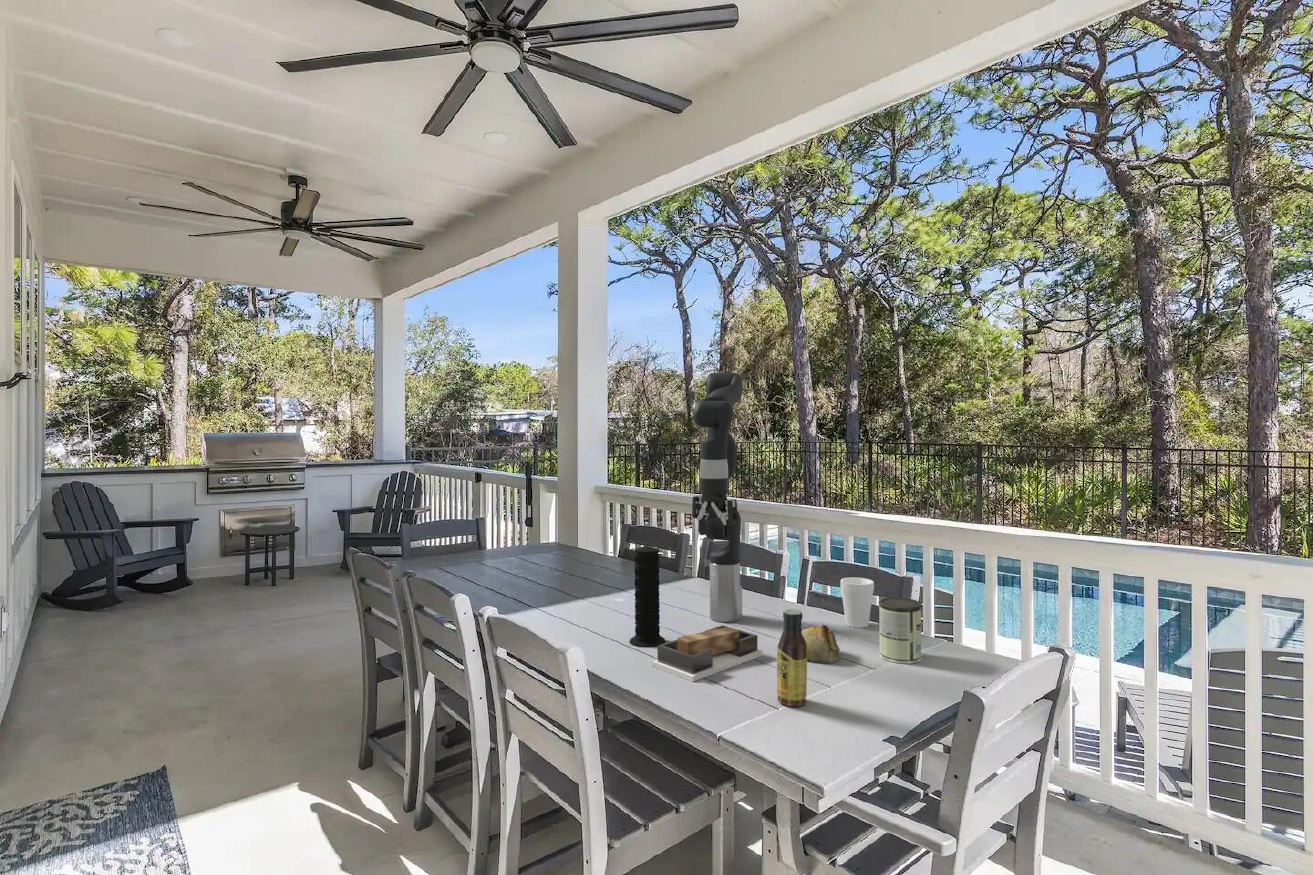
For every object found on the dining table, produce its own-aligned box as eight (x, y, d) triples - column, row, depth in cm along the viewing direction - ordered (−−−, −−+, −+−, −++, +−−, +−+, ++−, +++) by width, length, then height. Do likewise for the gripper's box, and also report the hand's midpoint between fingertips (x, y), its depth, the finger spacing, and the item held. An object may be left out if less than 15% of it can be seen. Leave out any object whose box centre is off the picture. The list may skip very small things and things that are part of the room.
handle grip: (625, 646, 185) (661, 648, 183) (624, 548, 184) (661, 549, 182) (634, 634, 195) (668, 636, 193) (633, 542, 194) (667, 543, 192)
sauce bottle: (773, 696, 150) (773, 606, 150) (801, 695, 151) (801, 605, 150) (781, 709, 144) (781, 615, 143) (811, 708, 144) (810, 614, 144)
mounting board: (722, 642, 187) (722, 638, 187) (763, 655, 177) (763, 650, 177) (651, 666, 170) (651, 661, 170) (692, 681, 159) (692, 676, 159)
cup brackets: (722, 639, 186) (722, 625, 186) (757, 650, 177) (757, 635, 177) (657, 661, 170) (657, 645, 169) (692, 674, 161) (692, 657, 161)
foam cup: (862, 631, 196) (862, 586, 196) (834, 624, 203) (834, 580, 202) (880, 625, 202) (880, 581, 202) (852, 618, 209) (852, 576, 209)
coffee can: (879, 648, 181) (879, 595, 181) (920, 652, 178) (921, 598, 178) (878, 661, 172) (878, 605, 171) (922, 666, 168) (922, 609, 168)
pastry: (850, 662, 172) (850, 630, 171) (803, 666, 169) (803, 634, 169) (824, 644, 185) (824, 615, 185) (781, 648, 183) (781, 618, 183)
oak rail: (727, 643, 180) (727, 626, 179) (738, 648, 176) (738, 630, 176) (677, 655, 171) (677, 637, 171) (688, 660, 167) (688, 642, 167)
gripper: (743, 476, 180) (744, 538, 180) (704, 473, 190) (704, 531, 191) (724, 478, 175) (725, 542, 175) (685, 475, 185) (685, 535, 186)
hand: (714, 536), depth 183 cm, fingers open, 8 cm apart
